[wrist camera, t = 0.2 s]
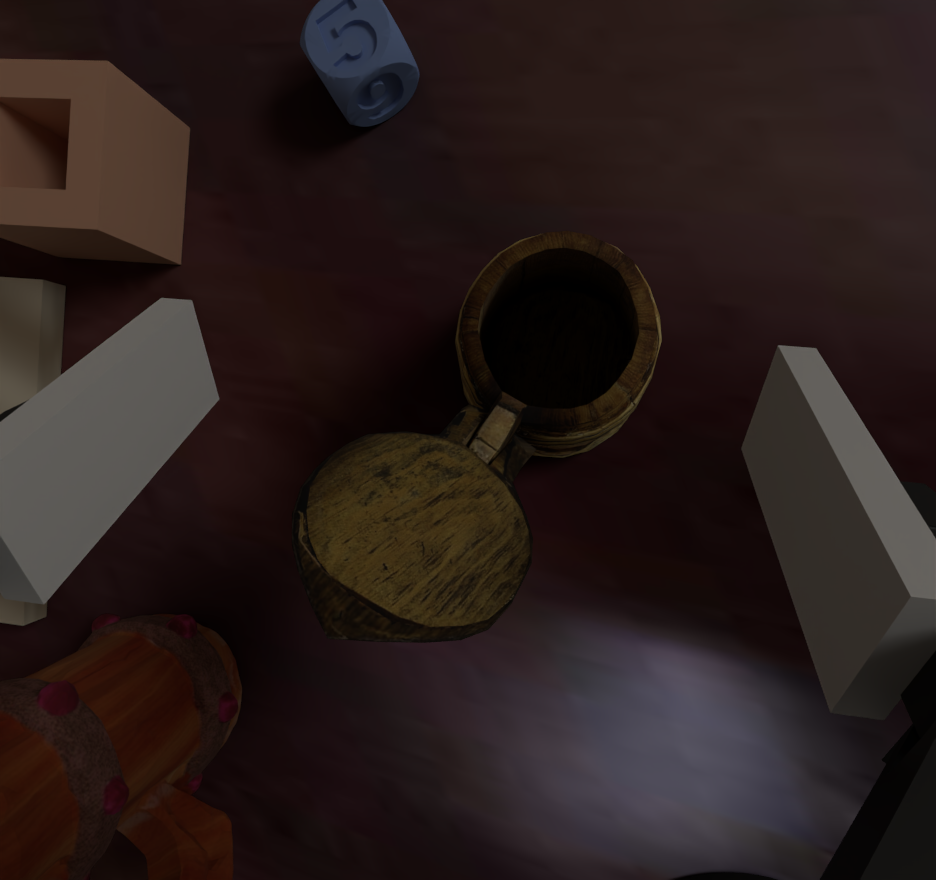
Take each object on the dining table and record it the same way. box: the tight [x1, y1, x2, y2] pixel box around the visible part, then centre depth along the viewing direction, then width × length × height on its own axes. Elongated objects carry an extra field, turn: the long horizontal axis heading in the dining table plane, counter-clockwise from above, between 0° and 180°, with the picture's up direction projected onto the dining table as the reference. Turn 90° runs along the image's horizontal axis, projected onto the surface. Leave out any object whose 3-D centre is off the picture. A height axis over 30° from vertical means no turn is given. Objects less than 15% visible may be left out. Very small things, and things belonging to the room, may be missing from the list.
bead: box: [0, 59, 190, 265], centre depth 29 cm, size 7×7×6 cm
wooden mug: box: [292, 231, 662, 643], centre depth 21 cm, size 9×14×18 cm, turn 147°
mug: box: [0, 613, 242, 880], centre depth 25 cm, size 15×8×15 cm, turn 33°
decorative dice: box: [300, 0, 419, 127], centre depth 29 cm, size 4×4×4 cm
